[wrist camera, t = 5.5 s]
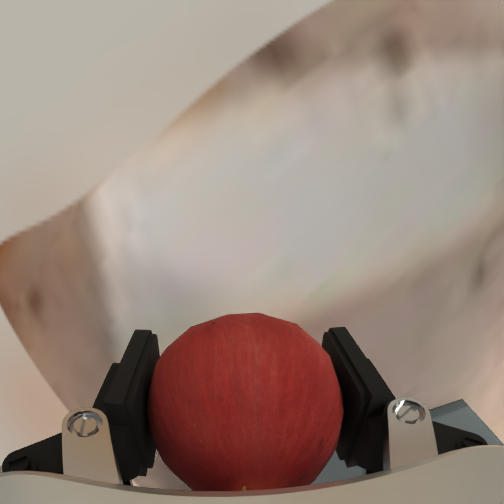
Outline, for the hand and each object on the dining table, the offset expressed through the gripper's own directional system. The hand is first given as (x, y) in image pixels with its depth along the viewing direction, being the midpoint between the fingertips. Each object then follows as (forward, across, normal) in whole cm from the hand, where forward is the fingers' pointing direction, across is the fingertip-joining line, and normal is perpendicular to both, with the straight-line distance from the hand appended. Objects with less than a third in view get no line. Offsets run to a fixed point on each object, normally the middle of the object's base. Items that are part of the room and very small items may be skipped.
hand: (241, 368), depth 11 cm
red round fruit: (+2, 0, 0) cm, 2 cm away
